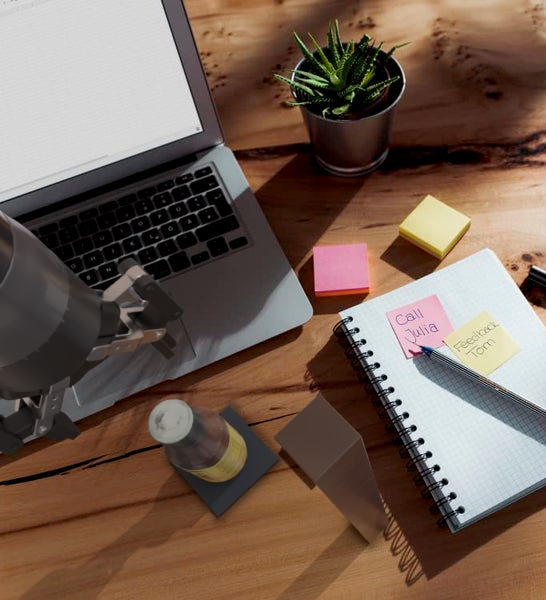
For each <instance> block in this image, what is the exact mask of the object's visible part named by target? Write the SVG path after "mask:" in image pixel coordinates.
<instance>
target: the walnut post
mask: <svg viewBox="0 0 546 600" xmlns="http://www.w3.org/2000/svg"><path fill="white" fill-rule="evenodd" d="M273 439H274V440H275V441H276V442H277V444H278V445H279V446H280V447H281V448H282V449H283V450H284V451H285V452H286V454H288V456H289V457H290V458H291V459H292V460H293V462H294V463H295V464H297V466H298V467H299V468H300V469H301V470H302V471H303V472H304V473H305V475H307V477H308V478H309V479H310V480H311V481H312V483H314V484H315V485H316V487H317V488H318V489H319V490H320V491H321V492H322V493H323V495H324V496H325V497H326V498H327V499H328V500H329V501H330V502H331V503H332V504H333V505H334V506H335V508H337V510H338V511H339V512H340V513H341V514H342V515H343V516H344V517H345V518H346V520H347V521H348V522H349V523H350V524H351V525H352V526H353V527H354V528H355V530H356V531H357V532H358V533H360V535H361V536H362V537H363V538H364V539H365V540H366V541H367V542H368V543H369V544H372V543H373V541H374V540H375V539H376V538H377V537H378V536H379V535H380V534H381V533H382V532H383V531H384V530H385V529H386V528H387V527H388V526H389V525H390V522H389V518H388V516H387V512H386V509H385V506H384V502H383V500H382V497H381V494H380V490H379V487H378V484H377V482H376V478H375V475H374V471H373V469H372V468H373V467H372V465H371V462H370V459H369V456H368V453H367V450H366V446H365V444H364V441H363V437H362V435H361V434H360V433H359V432H358V431H357V430H356V429H355V428H354V427H353V426H352V425H351V424H350V423H349V422H348V421H347V420H346V419H345V417H343V416H342V415H341V414H340V413H339V412H338V411H337V410H336V409H335V408H334V407H333V406H332V405H331V404H330V403H329V402H328V401H327V400H326V399H325V398H324V397H323V395H321V394H320V393H319V394H317V395H316V397H314V398H313V399H312V400H311V401H310V402H309V403H307V405H306V406H305V407H304V408H302V409H301V411H299V412H298V413H297V414H296V415H295V416H294V417H293V418H292V419H291V420H290V421H289V422H288V423H287V424H285V426H284V427H282V428H281V429H280V430H279V431H278V432H277V433H276V434H275V435H274V436H273Z"/></svg>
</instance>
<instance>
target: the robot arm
mask: <svg viewBox="0 0 546 600" xmlns="http://www.w3.org/2000/svg"><path fill="white" fill-rule="evenodd" d="M117 271H118V273H120V275H121V276H120V277H119V278H118V279H117V280H116V281H115V282H113V284H111V285H110V286H108V288H106V289H105V290H103V289H96V288H91V287H90V286H89V285H87V283H86V282H84V280H82V279H81V278H80V277H79V276H78V275H77V274H76V273H75V272H74V271H73V270H72V269H71V268H70V267H68V266H67V264H65V263H64V262H63V260H61V259H60V257H59V256H58V255H56V254H55V252H53V251H52V250H50V248H48V247H47V246H46V245H45V244H44V243H43V242H42V241H41V240H40V239H39V238H38V237H37V236H36V235H35V234H34V233H33V232H31V231H30V230H29V229H28V228H27V227H25V226H24V225H22V223H20V222H18V221H17V220H15V219H13V218H12V217H11V216H8V215H7V214H6V213H4V212H3V211H2V210H0V401H1V400H4V401H15V403H14V413H11V414H10V415H8V416H6V417H5V416H4V415H3V414H1V413H0V452H1V453H3V454H5V455H6V456H7V455H9V456H10V455H13V454H16V453H17V452H18V451H20V450H21V449H22V448H23V447H24V446H25V441H24V440H25V439H28V438H30V437H31V436H34V438H35V437H36V438H40V437H44V438H45V437H46V438H48V439H50V440H53V441H54V442H63V441H64V440H65V439H69V440H71V441H74V440H75V439H77V438H78V437H79V436H80V435H81V434H82V431H81V430H80V429H79V428H78V426H77V425H76V424H75V423H74V421H73V420H72V419H71V418H70V417H69V416H68V415H67V414H66V413H65V412H64V411H62V407H63V401H64V397H65V392H66V390H67V389H68V388H69V389H71V388H72V387H73V386H75V385H76V384H78V382H80V381H81V380H82V379H83V378H84V377H85V375H87V373H89V372H90V371H91V370H93V369H94V368H96V367H97V366H99V365H100V364H102V363H103V362H104V361H105V360H107V359H108V358H110V356H112V355H117V354H124V353H131V352H134V351H137V349H138V348H139V347H140V345H143V344H148V343H149V344H151V345H152V346H153V347H154V349H156V350H157V351H158V352H159V353H160V354H161V355H162V356H163V357H164V358H165V359H166V360H167V361H169V360H171V358H173V357H174V356H175V355H176V353H175V351H173V349H174V348H175V347H176V346H177V343H178V342H177V339H175V337H174V336H172V334H170V332H169V331H168V330H167V329H166V327H167V324H168V322H175V321H177V320H179V319H180V318H181V317H182V316H183V314H184V311H185V310H184V308H182V307H181V305H180V304H179V303H178V302H177V301H176V300H175V299H174V298H173V296H172V295H171V294H170V293H168V292H167V290H165V288H164V287H163V286H162V285H161V284H159V282H158V281H157V280H156V279H155V278H154V277H153V276H152V275H151V274H149V273H148V271H147V270H145V269H144V267H143V266H141V265H140V264H139V263H138V262H137V261H136V259H134V258H133V257H129V258H126V259H123V260H122V261H121V262H120V263H119V264H118V266H117ZM125 303H131V304H137V303H138V304H139V305H140V306H135V307H121V305H123V304H125Z"/></svg>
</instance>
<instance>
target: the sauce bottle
mask: <svg viewBox="0 0 546 600" xmlns="http://www.w3.org/2000/svg"><path fill="white" fill-rule="evenodd" d="M151 410H152V411H151V412H150V415H149V416H148V417H149V418H148V422H147V427H148V432H149V434H150V436H151V438H152V439H153V440H155V441H156V442H157V443H158V444H160V445H161V446H162V448H163V452H164V454H165V456H166V458H167V460H169V462H170V461H171V462H172V463H173V464H174V465H176V466H177V467H179V468H181V469H184V470H186V471H188V472H190V473H192V474H194V475H196V476H198V477H200V478H202V479H204V480H206V481H210V482H223V481H227V480H230V479H232V478H234V477H236V476H237V475H238V474H239V473H240V471H241V470H242V468H243V467H244V465H245V462H246V460H247V457H248V453H247V447H246V444H245V441H244V439H243V438H242V436H241V435H239V433H238V432H237V431H236V430H235V429H234V428H233V427H232V426H231V425H229V424H228V423H227V422H226V421H225V420H224V419H223V418H222V417H220V416H219V414H218V413H216V412H215V411H213V410H212V409H210V408H208V407H205V406H201V405H190V404H188V403H187V402H186V401H184V400H181V399H177V398H170V399H166V400H164V401H161V402H160V403H158V404H157V405H156V406H155V407H154V408H153V409H151ZM171 462H170V463H171ZM172 463H171V464H172ZM173 464H172V465H173ZM174 465H173V466H174Z"/></svg>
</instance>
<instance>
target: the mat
mask: <svg viewBox="0 0 546 600" xmlns="http://www.w3.org/2000/svg"><path fill="white" fill-rule="evenodd" d="M218 415H219V416H220V417H222V418H223V419H224V420H225V421H226V422H227V423H228V424H229V425H231V426H232V427H233V428H234V429H235V430H236V431H237V432H238V433H239V435H241V436H242V438H243V439H244V441H245V444H246V447H247V453H248V457H247V460H246V462H245V465H244V467H243V468H242V470H241V471H240V473H239V474H238V475H237V476H236V477H234V478H232V479H230V480H227V481H223V482H210V481H206V480H204V479H202V478H200V477H198V476H196V475H194V474H192V473H190V472H188V471H186V470H184V469H181V468H179V467H177V466H176V465H174V464H173V463H172V462H171V461H170V460H169V462H170V463H171V464H172V465H173V466H174V468H175V469H176V470H177V471H178V472H179V474H180V475H181V476H182V477H183V478H184V480H185V481H186V482H187V483H188V484H189V485H190V486H191V488H192V489H193V490H194V491H195V492H196V493H197V495H198V496H199V497H200V498H201V499H202V501H203V502H204V503H205V504H206V505H207V506H208V507H209V509H210V510H211V511H212V512H213V513H214V514H215V516H216V517H217V518H220V517H222V516H223V515H224V514H225V513H226V512H227V511H228V510H229V509H230V508H231V507H232V506H234V505H235V503H236V502H238V500H239V499H240V498H242V497H243V496H244V495H245V494H246V493H247V492H248V491H249V490H250V489H251V488H252V487H254V485H255V484H256V483H257V482H258V481H259V480H261V479H262V478H263V477H264V476H265V475H266V474H267V473H268V472H269V471H270V470H271V469H272V468H273V467H274V466H275V465H277V463H278V462H279V461H280V459H279V457H278V456H277V454H275V453H274V452H273V451H272V450H271V449H270V447H268V445H267V444H266V443H265V442H264V441H263V440H262V439H261V438H260V437H259V436H258V434H256V432H255V431H254V430H253V429H252V428H251V427H250V426H249V425H248V423H247V422H246V421H245V420H244V419H243V418H242V417H241V416H240V415H239V414H238V413H237V412H236V411H235V410H234V409H233V407H232V406H231V405H228V406H227V407H226V408H225V409H223V410H222V412H220V413H219V414H218Z"/></svg>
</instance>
